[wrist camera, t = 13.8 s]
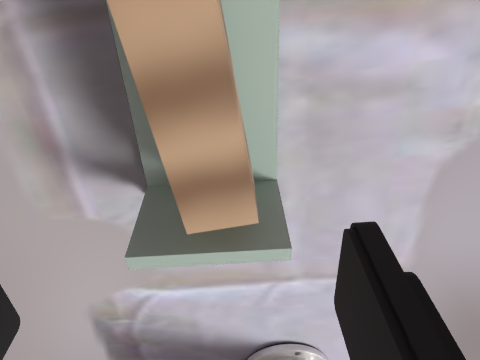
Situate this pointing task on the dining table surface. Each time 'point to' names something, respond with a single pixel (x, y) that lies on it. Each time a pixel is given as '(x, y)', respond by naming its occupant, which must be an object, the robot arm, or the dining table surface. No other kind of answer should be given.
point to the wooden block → (191, 106)
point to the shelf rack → (259, 145)
